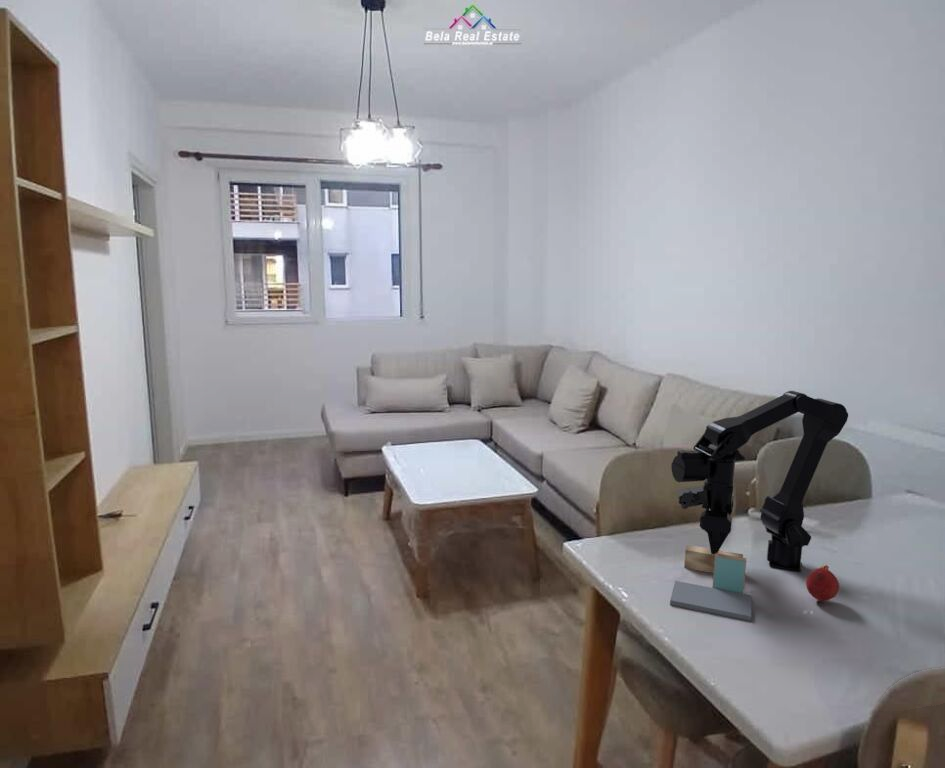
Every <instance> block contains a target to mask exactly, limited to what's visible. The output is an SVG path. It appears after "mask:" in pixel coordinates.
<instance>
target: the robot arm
mask: <svg viewBox="0 0 945 768" xmlns="http://www.w3.org/2000/svg"><path fill="white" fill-rule="evenodd" d="M797 413H799V414H803V416H802V420H801V421H802V430H803V435H802V438H801V440H800V443H799V444H798V448H797V451H796V453H795V455H794V456H793V459H792V462H791V464H790V467H789V469H788V471H787V473H786V476H785V479H784V481H783V483H782V485H781V488H780V490H779V492H778V493H776V494H775V495H774V496H773V497H771V496H769V495H766V497H765V499H764V503H763V506H762V507H761V509H759V512H761V514H760V520H761V523H762V525H763V526H764V527H765V531H766V533H768V534H770V535H771V537H770V538H771V539H768V541H767V551H766V552H767V553H766V560H767V561H768V565H769V567H771V568H777V569H783V570H788V571H793V572H794V571H795V572H802V566H801V562H802V554H803V553H802V552H803V547H807V546H809V544H810V542H811V540H812V536H811V535H810V533H808V531H807V530H806V529H805V528H804V527H803V523H804V518H805V513H804V503H803V502H804V499H805V497H806V495H807V491H808V490H809V486H810V485H811V482H812V480H813V478H814V476H815V473H816V470H817V468H818V466H819V463H820V461H821V458H822V456H823V454H824V452H825V449H826V447H827V445H828V443H829V442H830V441H832V440H833V439H834V438H835V437H837V436H838V435H839V434H840V433H841V431H842V430H843V428H844V427H845V425H846V424H847V421H848V418H849V412H848V411H847V408H846V407H845V406H844V405H843V404H842V403H838V402H836V401H835V402H834V401H831V400H827V399H823V398H814V397H811V396H809V395H807V394H805V393H802V392H798V391H795V390H788V391H786V392H784V393H783V394H782V395H781V396H779V397H776V398H774V399H771V400H770V401H767V402H766V403H764V404H762V405H759V406H757V407H756V408H754V409H752V410H749V411H747V412H745V413H743V414H741V415H739V416H738V415H737V416H734V417H725V418H721V419H717V420H714V421H712V422H710V423H709V424H707V425H706V427H705V431H704V433H703V434H702V435H701V437H700V438H699V439H698V440H697V442H696V444H695V445H694V446H693V448H692V449H693V450H683V449H682V450H678V451H676V452H677V454H676V456H675V457H674V458H673V460H672V462H671V474H672V477H673V479H674V480H675V482H677V483H690V482H693V483H694V482H703V483H704V484H703V485H700V486H693V487H687V488H683V489H680V490H678V493H677V498H678V504H679V505H680V507H681V509H683V510H685V509H688V508H691V507H697V506H701V508H702V509H706V510H704V511H702V512H701V513H700V517H699V527H700V529H701V530H702V531H704V532H705V533H706V534H707V537H708V542H709V549H710V550H711V554H715V553H718V551H719V550H720V549H721V548H722V546H723V544H724V543H725V541H726V539H727V537H728V536H729V535H730V534H731V532H732V524H733V523H732V521H733V518H732V516H731V514H732V513H733V508H734V500H735V499H734V498H735V497H734V494H733V493H734V483H735V481H734V480H735V472H736V470H735V468H736V461H737V462H738V461H745V460H746V458H745V456H744V455H743V454H742V453H741V452H740V451H739V449H740V448H742V447H744V446H745V445H746V444H747V443H748V442H749V440H750V439H751V437H752V436H754V435H755V434H757V433H758V432H761V431H762V430H765V429H767V428H768V427H770V426H773V425H775V424H777V423H780V422H781V421H783V420H785V419H787V418H789V417H792V416H793V415H794V414H797ZM710 446H711V447H713V448H711V447H710ZM714 448H715V449H714Z"/></svg>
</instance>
